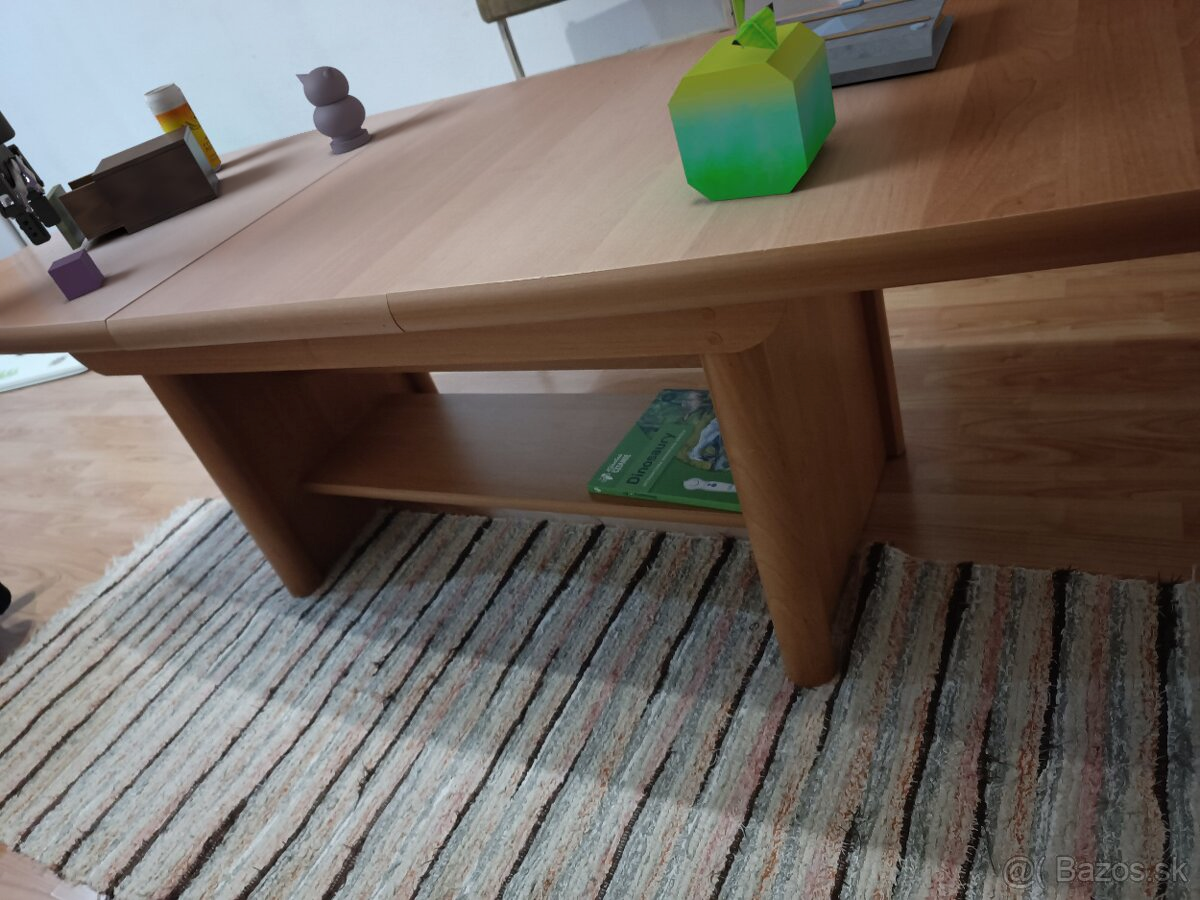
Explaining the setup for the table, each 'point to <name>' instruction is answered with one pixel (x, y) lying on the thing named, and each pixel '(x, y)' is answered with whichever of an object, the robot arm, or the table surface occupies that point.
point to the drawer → (82, 211)
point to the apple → (754, 109)
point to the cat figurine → (335, 108)
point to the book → (879, 37)
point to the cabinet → (156, 179)
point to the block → (76, 274)
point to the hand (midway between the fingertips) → (49, 233)
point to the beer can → (179, 117)
